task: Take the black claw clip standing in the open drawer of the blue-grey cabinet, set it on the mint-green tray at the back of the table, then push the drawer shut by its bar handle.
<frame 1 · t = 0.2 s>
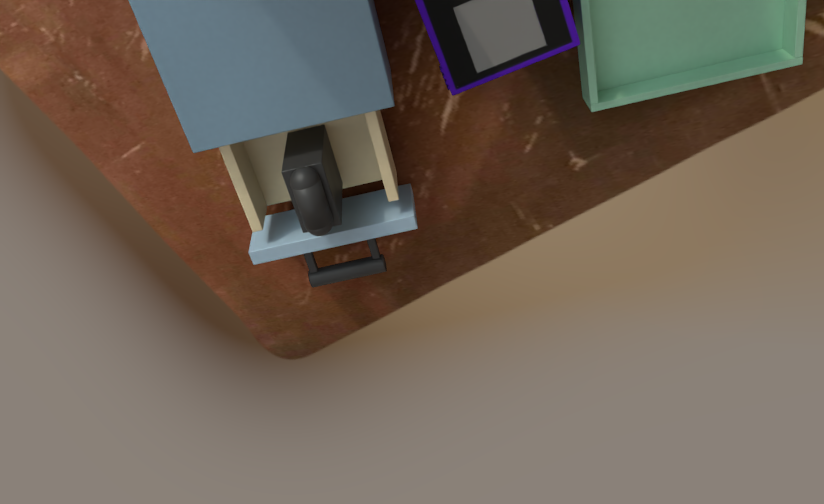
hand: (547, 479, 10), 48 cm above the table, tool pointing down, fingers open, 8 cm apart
drawer: (316, 171, 57), point 3 cm above the table, slide at 9.0 cm, touching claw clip
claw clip: (315, 158, 58), point 2 cm above the table, touching drawer
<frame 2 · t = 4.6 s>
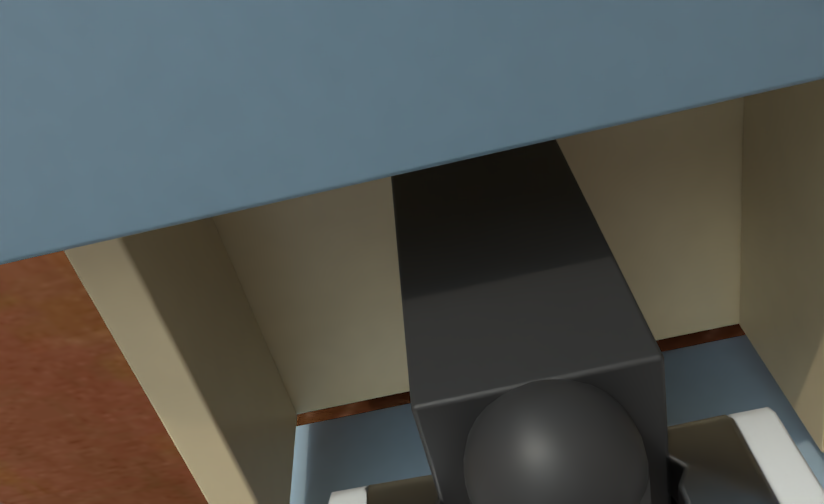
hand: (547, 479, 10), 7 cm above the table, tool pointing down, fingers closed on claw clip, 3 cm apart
drawer: (504, 315, 14), point 3 cm above the table, slide at 9.0 cm, touching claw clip
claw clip: (491, 257, 15), point 2 cm above the table, touching drawer, gripper
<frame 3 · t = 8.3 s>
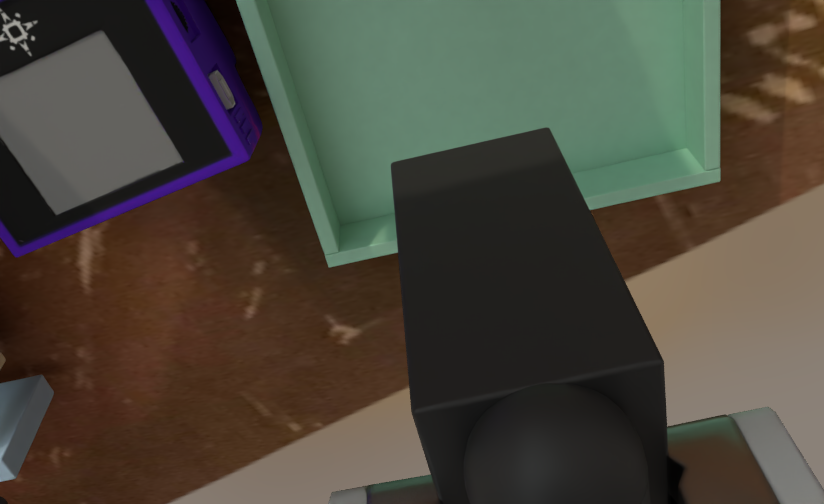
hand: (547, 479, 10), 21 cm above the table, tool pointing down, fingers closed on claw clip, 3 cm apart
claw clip: (491, 259, 15), point 16 cm above the table, touching gripper
when the fingers open (6 cm above the table, at t = 12.0 s): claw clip stays where it is, resting on tray.
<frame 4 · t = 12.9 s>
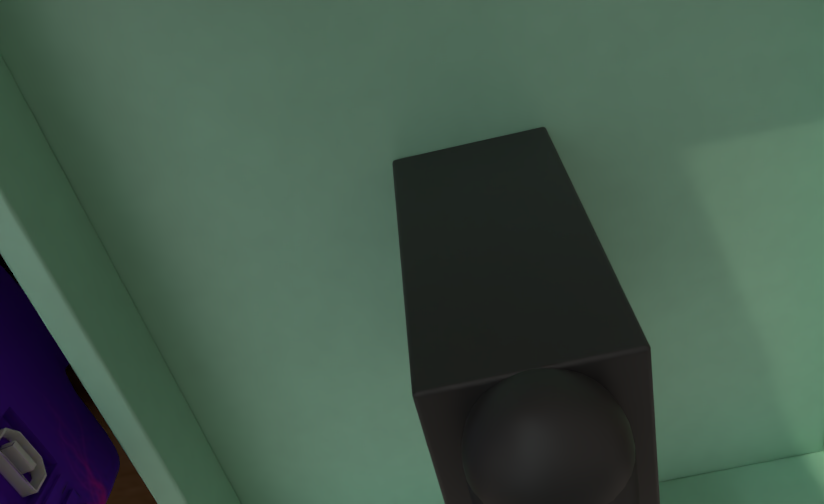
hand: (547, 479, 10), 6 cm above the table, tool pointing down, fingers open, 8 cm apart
tray: (483, 230, 16), on the table
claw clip: (490, 254, 15), point 1 cm above the table, touching tray
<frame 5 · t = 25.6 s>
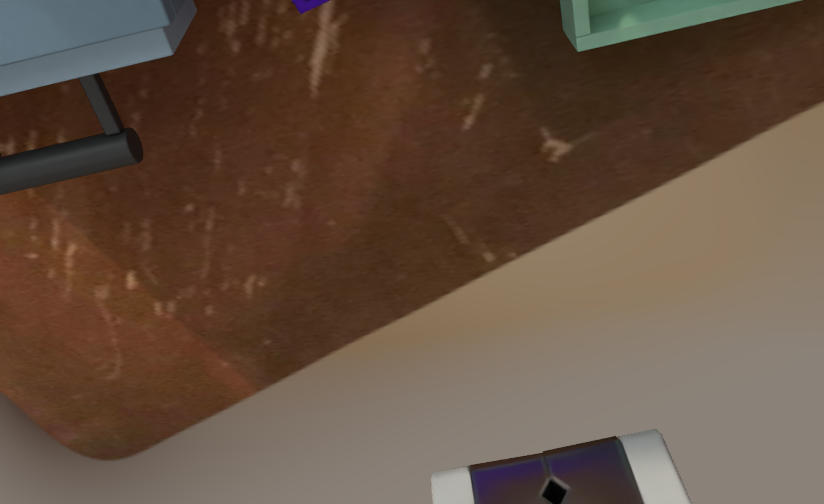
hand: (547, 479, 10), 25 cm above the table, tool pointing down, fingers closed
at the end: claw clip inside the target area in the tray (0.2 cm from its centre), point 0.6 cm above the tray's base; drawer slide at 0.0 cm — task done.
